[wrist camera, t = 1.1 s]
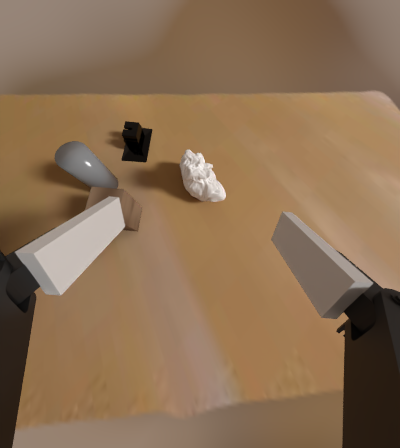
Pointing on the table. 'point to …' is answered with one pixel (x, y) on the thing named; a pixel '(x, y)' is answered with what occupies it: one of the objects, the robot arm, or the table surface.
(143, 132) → the notched block on base
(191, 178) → the bust
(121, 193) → the walnut block
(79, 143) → the grey rounded cylinder
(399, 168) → the table surface
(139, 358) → the table surface
